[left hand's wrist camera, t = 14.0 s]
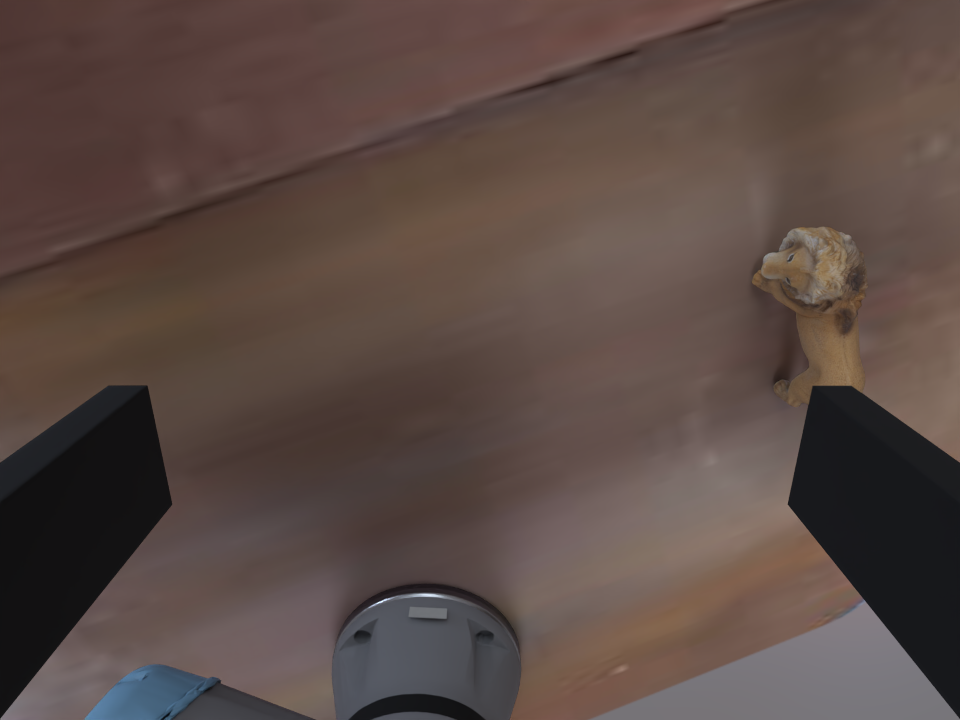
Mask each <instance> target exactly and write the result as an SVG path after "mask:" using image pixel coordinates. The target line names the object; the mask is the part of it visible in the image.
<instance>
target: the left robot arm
mask: <svg viewBox="0 0 960 720" xmlns="http://www.w3.org/2000/svg"><path fill="white" fill-rule="evenodd" d="M171 505H172V501H171V496H170V491H169V486H168V482H167V477H166V472H165V467H164V462H163V458H162V453H161V448H160V443H159V439H158V434H157V429H156V424H155V419H154V415H153V410H152V405H151V400H150V395H149V391H148V386H107V387H106V388H105V389H103V390H102V391H100V392H99V393H98V394H96V395H95V396H93V397H92V398H91V399H89V400H88V401H86V402H85V403H84V404H82V405H81V406H79V407H78V408H76V409H75V410H74V411H72V412H71V413H69V414H68V415H67V416H65V417H64V418H62V419H61V420H60V421H58V422H57V423H55V424H54V425H53V426H51V427H50V428H48V429H47V430H46V431H44V432H43V433H41V434H40V435H39V436H37V437H36V438H34V439H33V440H32V441H30V442H29V443H27V444H26V445H25V446H23V447H22V448H20V449H19V450H17V451H16V452H15V453H13V454H12V455H10V456H9V457H8V458H6V459H5V460H3V461H2V462H1V463H0V718H1V717H2V716H3V715H4V713H5V712H6V711H7V710H8V708H9V707H10V706H11V705H12V703H13V702H14V701H15V700H16V698H17V697H18V696H19V695H20V693H21V692H22V691H23V690H24V688H25V687H26V686H27V685H28V683H29V682H30V681H31V680H32V678H33V677H34V676H35V675H36V673H37V672H38V671H39V670H40V668H41V667H42V666H43V665H44V663H45V662H46V661H47V660H48V658H49V657H50V656H51V655H52V653H53V652H54V651H55V650H56V649H57V647H58V646H59V645H60V644H61V642H62V641H63V640H64V639H65V637H66V636H67V635H68V634H69V632H70V631H71V630H72V629H73V627H74V626H75V625H76V624H77V622H78V621H79V620H80V619H81V617H82V616H83V615H84V614H85V612H86V611H87V610H88V609H89V607H90V606H91V605H92V604H93V602H94V601H95V600H96V599H97V597H98V596H99V595H100V594H101V592H102V591H103V590H104V589H105V588H106V586H107V585H108V584H109V583H110V581H111V580H112V579H113V578H114V576H115V575H116V574H117V573H118V571H119V570H120V569H121V568H122V566H123V565H124V564H125V563H126V561H127V560H128V559H129V558H130V556H131V555H132V554H133V553H134V551H135V550H136V549H137V548H138V546H139V545H140V544H141V543H142V541H143V540H144V539H145V538H146V536H147V535H148V534H149V533H150V531H151V530H152V529H153V528H154V526H155V525H156V524H157V523H158V522H159V520H160V519H161V518H162V517H163V515H164V514H165V513H166V512H167V510H168V509H169V508H170V507H171ZM788 505H789V507H790V508H791V509H792V510H793V512H794V513H795V514H796V515H797V517H798V518H799V519H800V520H801V522H802V523H803V524H804V525H805V526H806V528H807V529H808V530H809V531H810V533H811V534H812V535H813V536H814V538H815V539H816V540H817V541H818V543H819V544H820V545H821V546H822V548H823V549H824V550H825V551H826V553H827V554H828V555H829V556H830V558H831V559H832V560H833V561H834V563H835V564H836V565H837V566H838V568H839V569H840V570H841V571H842V573H843V574H844V575H845V576H846V578H847V579H848V580H849V581H850V583H851V584H852V585H853V586H854V588H855V589H856V590H857V591H858V592H859V594H860V595H861V596H862V597H863V599H864V600H865V601H866V602H867V604H868V605H869V606H870V607H871V609H872V610H873V611H874V612H875V614H876V615H877V616H878V617H879V619H880V620H881V621H882V622H883V624H884V625H885V626H886V627H887V629H888V630H889V631H890V632H891V634H892V635H893V636H894V637H895V638H896V640H897V641H898V642H899V643H900V645H901V646H902V647H903V648H904V650H905V651H906V652H907V653H908V655H909V656H910V657H911V658H912V660H913V661H914V662H915V663H916V665H917V666H918V667H919V668H920V670H921V671H922V672H923V673H924V675H925V676H926V677H927V678H928V680H929V681H930V682H931V683H932V685H933V686H934V687H935V688H936V690H937V691H938V692H939V693H940V695H941V696H942V697H943V698H944V700H945V701H946V702H947V703H948V705H949V706H950V707H951V708H952V709H953V711H954V712H955V713H956V714H957V716H958V717H959V718H960V463H959V462H958V461H957V460H955V459H954V458H952V457H951V456H950V455H948V454H947V453H945V452H944V451H943V450H941V449H940V448H938V447H937V446H935V445H934V444H933V443H931V442H930V441H928V440H927V439H926V438H924V437H923V436H921V435H920V434H919V433H917V432H916V431H914V430H913V429H912V428H910V427H909V426H907V425H906V424H905V423H903V422H902V421H900V420H899V419H898V418H896V417H895V416H893V415H892V414H891V413H889V412H888V411H886V410H885V409H884V408H882V407H881V406H879V405H878V404H876V403H875V402H874V401H872V400H871V399H869V398H868V397H867V396H865V395H864V394H862V393H861V392H860V391H858V390H857V389H855V388H854V387H853V386H812V391H811V395H810V400H809V405H808V410H807V415H806V419H805V424H804V429H803V434H802V439H801V443H800V448H799V453H798V458H797V462H796V467H795V472H794V477H793V482H792V486H791V491H790V496H789V501H788ZM520 677H521V660H520V649H519V643H518V640H517V637H516V634H515V632H514V630H513V628H512V627H511V625H510V623H509V622H508V621H507V619H506V618H505V617H504V616H503V615H502V614H501V613H500V612H499V611H498V610H497V609H496V608H495V607H494V606H492V605H491V604H490V603H488V602H487V601H485V600H484V599H482V598H480V597H478V596H476V595H474V594H472V593H470V592H467V591H464V590H461V589H458V588H454V587H450V586H445V585H437V584H414V585H406V586H401V587H396V588H393V589H390V590H387V591H384V592H382V593H379V594H377V595H375V596H373V597H371V598H370V599H368V600H367V601H365V602H364V603H362V604H361V605H360V606H358V607H357V608H356V609H355V610H354V611H353V612H352V613H351V615H350V616H349V617H348V618H347V620H346V621H345V623H344V624H343V626H342V628H341V630H340V633H339V636H338V639H337V642H336V646H335V650H334V654H333V662H332V683H333V692H334V701H335V710H336V719H337V720H510V716H511V713H512V710H513V707H514V704H515V700H516V697H517V694H518V690H519V685H520ZM84 720H315V719H312V718H309V717H307V716H304V715H302V714H299V713H296V712H294V711H291V710H289V709H286V708H283V707H281V706H278V705H275V704H273V703H270V702H268V701H265V700H262V699H260V698H257V697H255V696H252V695H249V694H247V693H244V692H241V691H239V690H236V689H234V688H231V687H228V686H226V685H223V684H221V680H220V679H218V678H216V677H211V678H208V679H207V678H204V677H201V676H198V675H195V674H191V673H188V672H185V671H182V670H179V669H175V668H172V667H169V666H166V665H160V664H153V665H147V666H144V667H141V668H139V669H137V670H135V671H133V672H131V673H130V674H128V675H127V676H125V677H124V678H122V679H121V680H120V681H119V682H118V683H117V684H116V685H115V686H114V687H113V688H112V689H111V690H110V691H109V692H108V693H107V694H106V695H105V696H104V697H103V698H102V699H101V700H100V702H99V703H98V704H97V705H96V706H95V707H94V708H93V710H92V711H91V712H90V713H89V714H88V715H87V717H86V718H85V719H84Z"/></svg>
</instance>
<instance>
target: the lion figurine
mask: <svg viewBox="0 0 960 720" xmlns="http://www.w3.org/2000/svg"><path fill="white" fill-rule="evenodd" d="M866 276H867V270H866V266H865V261H864V255H863V253H862V252H860V251H859V249H858V248H857V247H856V244H855V242H854V241H853V240H852V238H851V236H850V235H845V234H844V233H843V232H838V231H836V230H834V229H832V228H830V227H819V228H811V227H810V228H804V227H799V228H796V229H793V230H791V231H790V232H789V233H788V234H787V237H786V238H784V239H783V242H782V244H781V246H780V248H779V251H776V252H773V253H769V254H767V255H766V256H765V257H764V259H763V265H762V267H761V270H759V271H758V272H757V273H756V274H755V275H754V277H753V280H752V283H753V284H754V285H755V286H757V287H758V288H760V289H761V290H763V291H765V292H768V293H771V294H772V295H773V296H774V297H775V298H776V299H777V300H778V301H779V302H781V303H783V304H784V305H785V306H787V307H789V308H790V309H792V310H793V311H795V312H796V320H797V328H798V332H799V338H800V342H801V345H802V348H803V350H804V353H805V355H806V356H807V358H808V361H809V368H808V369H807V370H806V371H804V372H803V373H801V374H799V375H798V376H796V377H795V378H794V379H793V380H792V382H791V383H790V382H789V381H787V380H783V379H782V380H780V381H778V382H776V383H775V385H774V388H773V389H774V392H775V393H776V395H777V396H779V397H780V398H781V399H782V400H784V401H785V402H787V403H788V404H789V405H791V406H794V407H798V406H800V405H801V403H806V404H808V405H809V400H810V395H811V391H812V386H853V387H854V388H855V389H857V390H858V391H860V392H861V393H862V392H863V388H864V385H865V373H864V370H863V367H862V363H861V359H860V351H859V329H858V318H857V315H858V312H857V310H858V309H859V308H860V307H861V306H862V304H861V300H862V299H864V298H865V296H866V294H865V289H866V288H867V287H868V284H867V278H866Z"/></svg>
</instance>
